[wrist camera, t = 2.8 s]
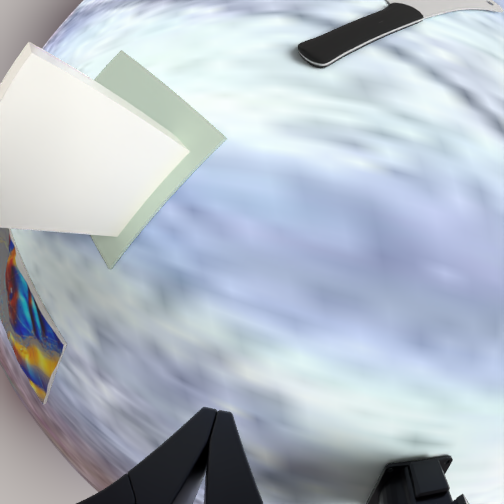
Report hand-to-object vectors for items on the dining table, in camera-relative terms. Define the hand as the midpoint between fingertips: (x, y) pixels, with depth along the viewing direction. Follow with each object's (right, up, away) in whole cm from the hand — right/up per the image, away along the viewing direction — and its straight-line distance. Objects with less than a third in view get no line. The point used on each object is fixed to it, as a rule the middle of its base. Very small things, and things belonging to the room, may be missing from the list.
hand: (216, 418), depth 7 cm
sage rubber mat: (-12, +15, +15) cm, 25 cm away
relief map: (-33, -3, +21) cm, 39 cm away
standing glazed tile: (-7, +10, +13) cm, 18 cm away
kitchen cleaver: (+17, +29, +7) cm, 35 cm away
